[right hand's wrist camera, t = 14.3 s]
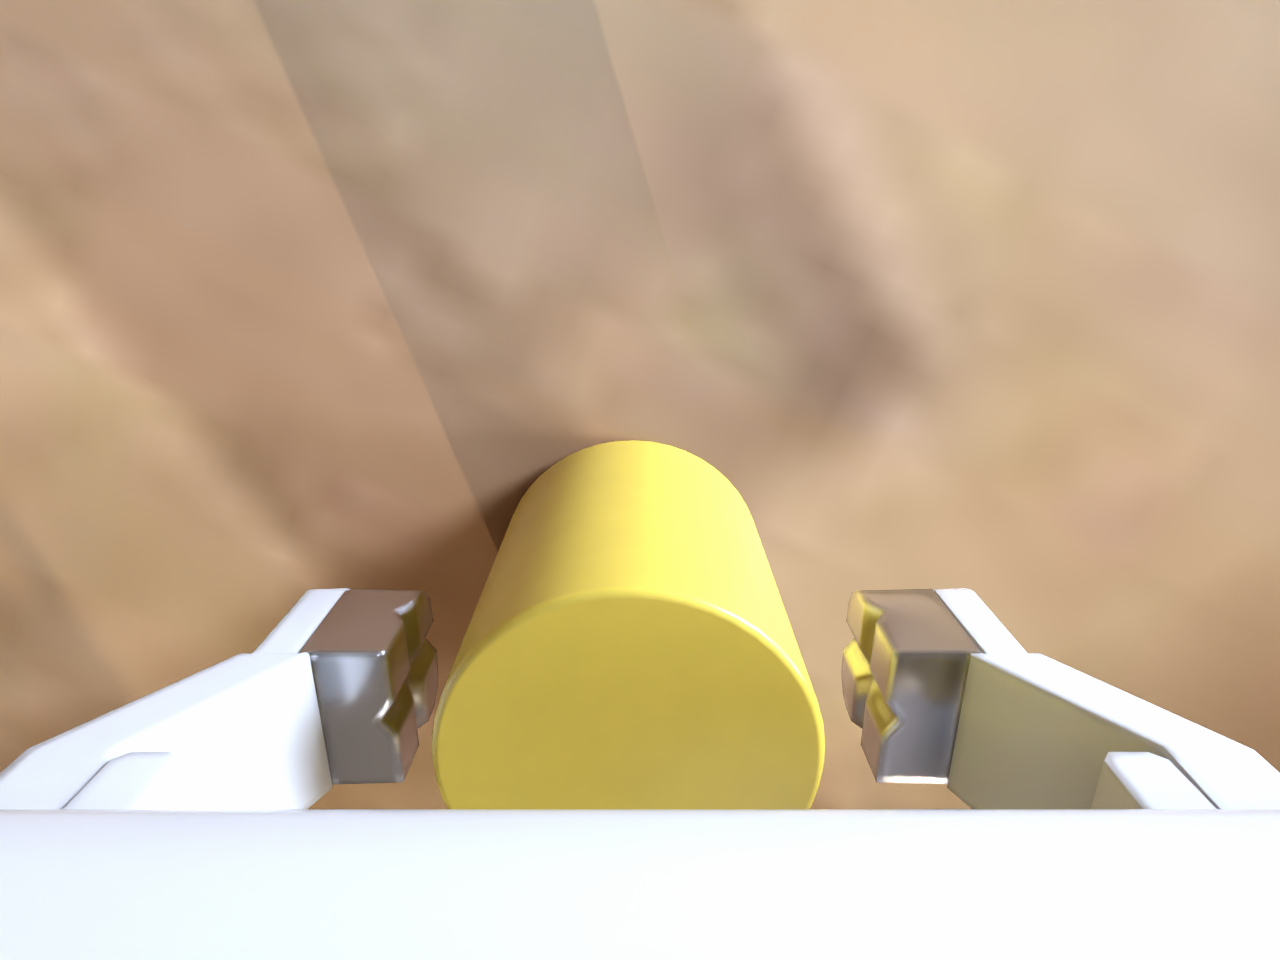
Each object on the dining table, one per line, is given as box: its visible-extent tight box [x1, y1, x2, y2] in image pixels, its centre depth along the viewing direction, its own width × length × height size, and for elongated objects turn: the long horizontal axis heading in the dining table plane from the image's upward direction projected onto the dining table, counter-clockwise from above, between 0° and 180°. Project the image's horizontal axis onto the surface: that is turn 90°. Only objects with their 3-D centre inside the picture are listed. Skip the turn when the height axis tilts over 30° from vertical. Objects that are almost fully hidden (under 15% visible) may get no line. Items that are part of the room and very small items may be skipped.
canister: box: [432, 440, 825, 809], centre depth 10 cm, size 4×4×5 cm
